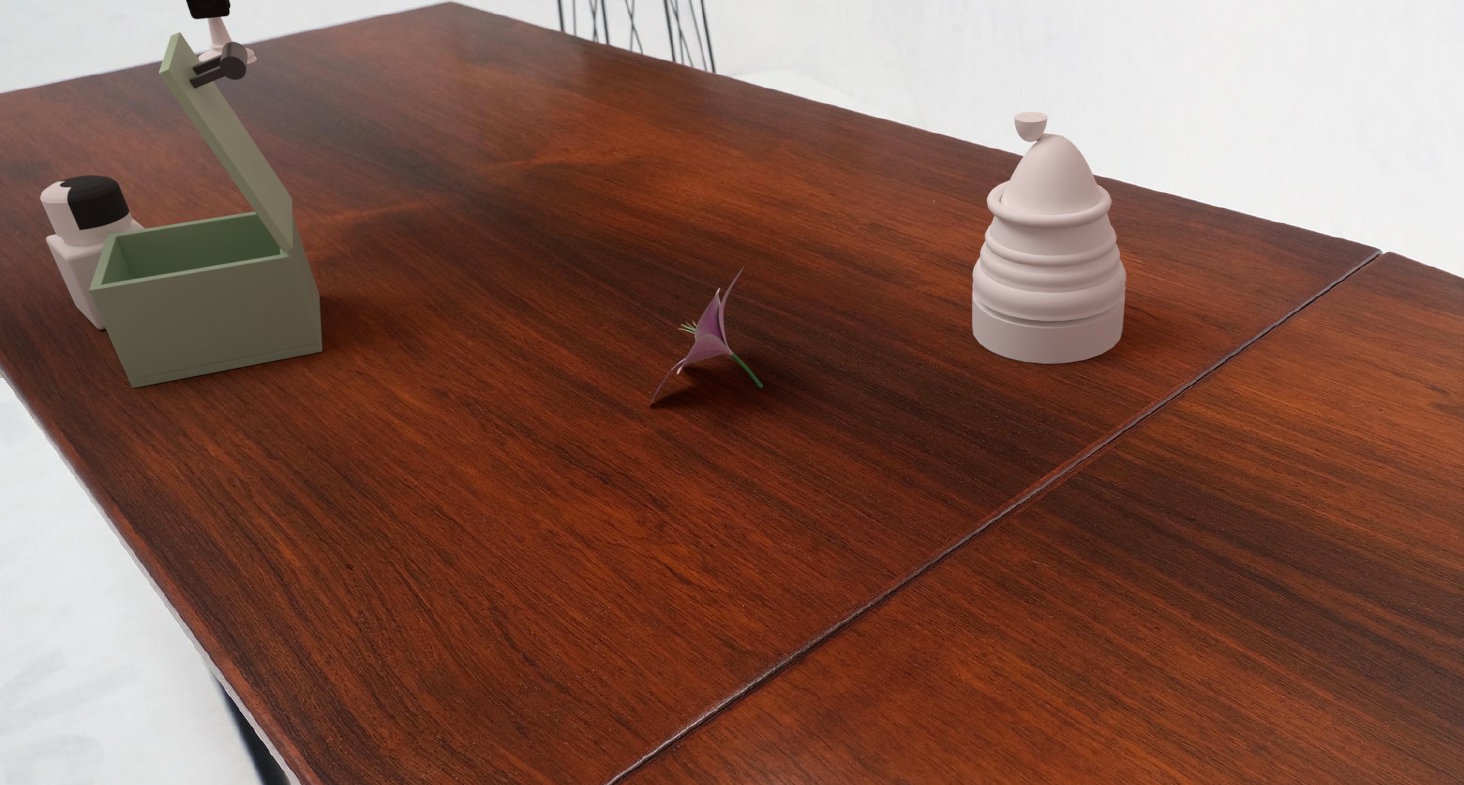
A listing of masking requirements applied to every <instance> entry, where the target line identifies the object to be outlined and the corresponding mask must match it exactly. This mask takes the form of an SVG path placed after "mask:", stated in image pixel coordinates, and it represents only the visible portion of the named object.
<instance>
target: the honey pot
mask: <svg viewBox="0 0 1464 785" xmlns="http://www.w3.org/2000/svg"><path fill="white" fill-rule="evenodd" d="M1013 120H1014V127H1015V130H1016V132H1017V134H1018V136H1019V137H1020V138H1021V140H1023V141H1024V142H1027V143H1033V142H1035V143H1034V144H1033V145H1032V146H1031V147H1030V148H1028V150H1027V151H1026V152H1025V154H1024V155H1023V156H1022V158H1021V160H1020V161H1019V163H1018V164H1017V166H1016V168H1015V170H1014V171H1013V173H1012V175H1011V177H1010V179H1009V180H1007V181H1004V182H1002V183H999V184H998V185H997V186H995V187H994V188H993V189H991V191H990V192H989V194H988V195H987V198H986V203H987V204H986V205H987V209H988V211H990V212H991V214H993V219H992V221H991V223H990V224H989V226H988V227H987V229H986V231H985V233H984V240H985V241H984V242H983V244H982V246H981V248H980V252H979V255H980V256H979V257H978V259H977V261H976V262H975V264H974V267H973V271H972V285H971V286H972V292H971V293H972V294H971V298H972V299H971V311H972V313H971V318H972V319H971V322H972V324H971V327H972V335H973V337H974V338H975V339H976V341H977V342H978V343H979V345H981V346H982V347H984V348H985V349H987V350H988V351H990V352H991V353H994V354H996V355H998V356H1001V357H1004V358H1006V359H1011V360H1015V361H1019V362H1023V363H1033V364H1043V365H1045V364H1049V365H1050V364H1051V365H1052V364H1068V363H1074V362H1080V361H1081V362H1082V361H1085V360H1088V359H1092V358H1095V357H1097V356H1100V355H1101V356H1102V355H1103V354H1104V353H1106V352H1108V351H1110V350H1111V349H1113V348H1114V347H1115V346H1116V345H1117V344H1118V342H1119V341H1120V340H1121V339H1122V338H1121V337H1122V333H1123V328H1124V317H1125V316H1124V314H1125V303H1126V302H1125V301H1126V295H1125V294H1126V283H1127V271H1126V268H1125V266H1124V264H1123V262H1122V260H1121V259H1120V258H1121V251H1120V249H1119V246H1118V244H1117V240H1118V237H1117V233H1116V231H1115V229H1114V227H1113V226H1112V225H1111V221H1110V218H1109V214H1108V213H1109V211H1110V209H1111V206H1112V203H1113V202H1112V198H1111V195H1110V192H1108V190H1106V188H1104V187H1103V186H1101V185H1099V184H1098V183H1097V181H1096V178H1095V176H1094V173H1093V172H1092V169H1091V167H1090V166H1089V164H1088V162H1087V160H1086V159H1085V156H1084V155H1083V154H1082V153H1081V150H1080V149H1079V148H1078V147H1077V146H1076V145H1075V144H1074V143H1073V142H1072V141H1071V140H1070V139H1069V138H1067V137H1065V136H1064V135H1062V134H1054V133H1045V130H1046V128H1047V125H1048V124H1047V123H1048V116H1047V114H1045V113H1042V112H1037V111H1028V112H1027V111H1026V112H1020V113H1018V114H1015V115H1014V119H1013Z"/></svg>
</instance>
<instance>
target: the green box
mask: <svg viewBox="0 0 1464 785" xmlns="http://www.w3.org/2000/svg"><path fill="white" fill-rule="evenodd" d="M292 224H293V249H291V250H289V251H287V252H283V251H282V250H281V248H280V247H279V245H278V244H277V242H276V241H275V240H274V238H273V237H272V235H271V234H270V232H269V231H268V230H267V228H266V227H265V225H264V224H263V222H262V221H261V220H260V218H259V217H258V215H257V214H256V212H255V211H249V212H244V213H243V212H242V213H237V214H230V215H223V216H219V217H218V216H217V217H210V218H205V219H199V220H193V221H191V220H190V221H185V222H179V223H174V224H173V223H172V224H167V225H161V226H160V225H159V226H153V227H148V228H145V229H140V230H134V231H128V232H121V233H115V234H108V235H107V237H106V240H105V243H104V246H103V249H102V252H101V255H100V258H99V261H98V264H97V267H96V271H95V274H94V277H93V280H92V283H91V286H90V288H89V292H90V294H91V297H92V299H93V301H94V303H95V306H96V308H97V310H98V312H99V315H100V317H101V319H102V321H103V323H104V326H105V328H106V329H105V330H106V332H107V335H108V337H109V339H110V341H111V343H112V346H113V348H114V350H115V353H116V355H117V357H118V360H119V362H120V364H121V366H122V368H123V370H124V373H125V375H126V377H127V379H128V382H129V384H130V386H131V388H132V389H136V388H142V387H147V386H152V385H156V384H162V383H166V382H171V381H172V382H173V381H177V380H181V379H187V378H192V377H193V378H194V377H198V376H204V375H208V374H213V373H219V372H224V371H229V370H234V369H235V370H236V369H239V368H246V367H249V366H254V365H260V364H265V363H271V362H275V361H281V360H285V359H290V358H295V357H296V358H297V357H301V356H306V355H311V354H316V353H321V352H323V338H322V337H323V336H322V319H321V318H322V317H321V300H320V298H321V297H320V293H319V290H318V287H317V283H316V281H315V277H314V275H313V271H312V268H311V266H310V263H309V259H308V256H307V253H306V250H305V247H304V245H303V241H302V238H301V235H300V233H299V229H298V227H297V223H296V220H295V218H294V214H293V213H292Z"/></svg>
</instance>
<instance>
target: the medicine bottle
mask: <svg viewBox="0 0 1464 785" xmlns="http://www.w3.org/2000/svg"><path fill="white" fill-rule="evenodd" d="M39 199H40V202H41V204H42V206H43V208H44V211H45V213H46V215H47V217H48V219H49V222H50V224H51V226H52V229H53V230H54V233H55V234H51V235H48V236H46V238H45V242H46V244H47V246H48V248H49V251H50V252H51V255H52V257H53V259H54V261H55V264H56V266H57V268H58V271H59V272H60V274H61V277H62V280H63V281H64V284H65V285H66V288H67V290H68V292H69V294H70V296H71V299H72V301H73V303H74V305H75V307H76V308H77V309H78V310H79V311H80V313H82V314H83V315H84V317H86V319H88V320H89V322H90V323H91V324H92V325H93V326H94V327H95V328H96V329H97V330H99V331H103V330H106V328H105V326H104V323H103V321H102V319H101V317H100V315H99V312H98V310H97V308H96V306H95V303H94V301H93V299H92V297H91V294H90V292H89V288H90V286H91V283H92V280H93V277H94V274H95V271H96V267H97V264H98V261H99V258H100V255H101V252H102V249H103V246H104V243H105V240H106V237H107V235H108V234H115V233H121V232H128V231H134V230H140V229H146V227H144V226H143V225H142V224H140V223H139V222H138V221H137V220H135V219H134V218H133V216H132V213H131V211H130V208H129V206H128V204H127V201H126V198H125V196H124V194H123V191H122V188H121V186H120V184H119V182H118V181H116V180H115V179H114V178H112V177H109V176H103V175H96V174H94V175H93V174H87V175H79V176H72V177H68V178H65V179H62V180H57V181H56V182H53V183H52V184H50V185H49V186H48V187H46V188H45V189H43V191H42V192H41V194H40V196H39Z"/></svg>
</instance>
